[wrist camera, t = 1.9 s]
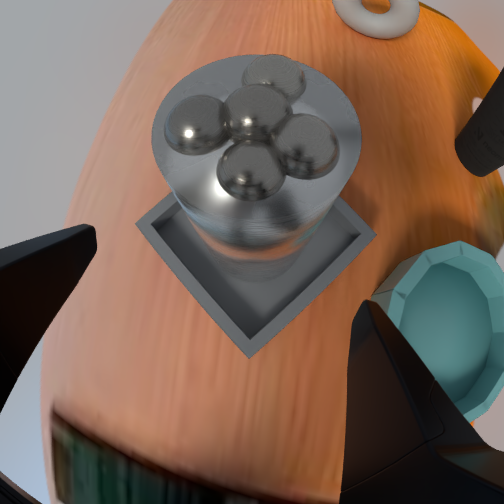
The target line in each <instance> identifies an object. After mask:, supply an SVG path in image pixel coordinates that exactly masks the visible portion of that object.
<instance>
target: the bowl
mask: <svg viewBox="0 0 504 504" xmlns="http://www.w3.org/2000/svg"><path fill="white" fill-rule="evenodd" d="M371 301H374V302H377V303H378V304H379V305H380V307H381V308H382V309H383V310H384V312H385V313H386V314H387V315H388V317H389V318H390V319H391V320H392V322H393V323H394V324H395V326H396V327H397V328H398V329H399V331H400V332H401V333H402V334H403V336H404V337H405V338H406V340H407V341H408V342H409V344H410V345H411V346H412V348H413V349H414V350H415V351H416V353H417V354H418V355H419V357H420V358H421V359H422V361H423V362H424V364H425V365H426V366H427V368H428V369H429V370H430V372H431V373H432V374H433V376H434V377H435V380H437V381H438V383H439V384H440V385H441V387H442V388H443V390H444V391H445V392H446V394H447V395H448V396H449V398H450V399H451V401H452V402H453V403H454V404H455V406H456V407H457V408H458V409H459V411H460V412H461V413H462V414H463V416H464V417H465V418H466V419H467V421H468V422H469V423H470V422H472V421H473V420H475V419H476V418H478V417H479V416H481V415H482V414H484V413H485V412H486V411H488V409H489V408H490V406H491V405H492V403H493V402H494V400H495V399H496V397H497V396H498V394H499V392H500V391H501V389H502V388H503V386H504V273H503V271H502V270H501V268H500V266H499V265H498V263H497V262H496V260H495V259H494V257H493V256H492V255H491V254H489V253H486V252H484V251H482V250H480V249H478V248H476V247H474V246H472V245H469V244H467V243H465V242H463V241H456V242H453V243H449V244H446V245H442V246H439V247H435V248H432V249H428V250H425V251H423V252H421V253H419V254H416V255H414V256H412V257H410V258H408V259H406V260H404V261H402V262H400V263H399V265H398V266H397V267H396V268H395V269H394V270H393V272H392V273H391V274H390V275H389V276H388V277H387V279H386V280H385V281H384V282H383V283H382V284H381V285H380V287H379V288H378V289H377V290H376V291H375V292H374V293H373V294H372V297H371Z"/></svg>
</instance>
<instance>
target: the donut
mask: <svg viewBox="0 0 504 504" xmlns="http://www.w3.org/2000/svg"><path fill="white" fill-rule="evenodd" d="M361 1H362V0H332V3H333V5H334V8H335V10H336V13H337V14H338V15H339V16H340V18H341V19H342V20H343V21H344V23H346V24H347V25H348V26H350V27H351V28H352V29H354V30H355V31H357V32H359V33H362V34H364V35H366V36H370V37H374V38H378V39H391V38H395V37H399V36H402V35H404V34H406V33H407V32H409V31H411V30H412V28H413V27H414V26H415V24H416V23H417V21H418V17H419V12H420V8H419V3H418V0H389V2H390V5H391V7H390V10H389V11H388V12H386V13H383V14H376V13H372V12H370V11H368V10H367V9H365V8H364V6H363V5H362V2H361Z"/></svg>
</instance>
